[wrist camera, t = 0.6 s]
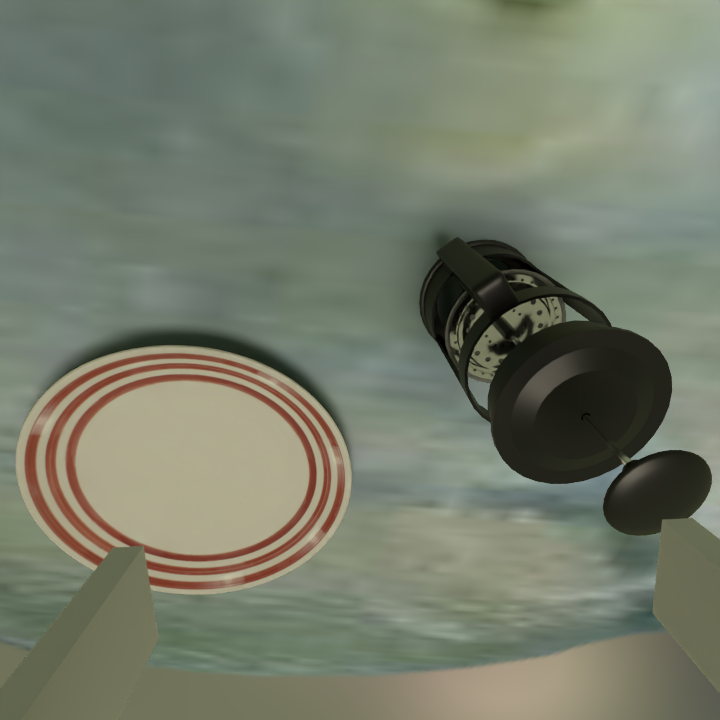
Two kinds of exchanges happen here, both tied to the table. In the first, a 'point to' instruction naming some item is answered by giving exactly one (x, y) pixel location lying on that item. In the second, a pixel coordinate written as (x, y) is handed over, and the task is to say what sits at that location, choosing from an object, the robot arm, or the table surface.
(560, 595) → the table surface
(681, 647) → the robot arm
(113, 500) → the dinner plate
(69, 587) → the table surface
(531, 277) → the french press
